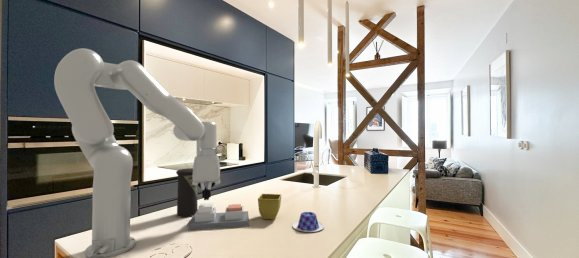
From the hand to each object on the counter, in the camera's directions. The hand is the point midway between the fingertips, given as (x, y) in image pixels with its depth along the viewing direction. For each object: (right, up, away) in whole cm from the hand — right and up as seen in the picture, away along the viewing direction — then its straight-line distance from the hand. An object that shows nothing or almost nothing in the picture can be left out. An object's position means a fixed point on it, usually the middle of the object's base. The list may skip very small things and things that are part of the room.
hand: (206, 199), depth 98 cm
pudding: (+40, -10, -4) cm, 41 cm away
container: (-12, -10, +11) cm, 19 cm away
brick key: (+11, -6, +2) cm, 12 cm away
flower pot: (+24, -10, +7) cm, 27 cm away
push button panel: (+5, -9, +1) cm, 11 cm away
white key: (0, -5, 0) cm, 5 cm away
